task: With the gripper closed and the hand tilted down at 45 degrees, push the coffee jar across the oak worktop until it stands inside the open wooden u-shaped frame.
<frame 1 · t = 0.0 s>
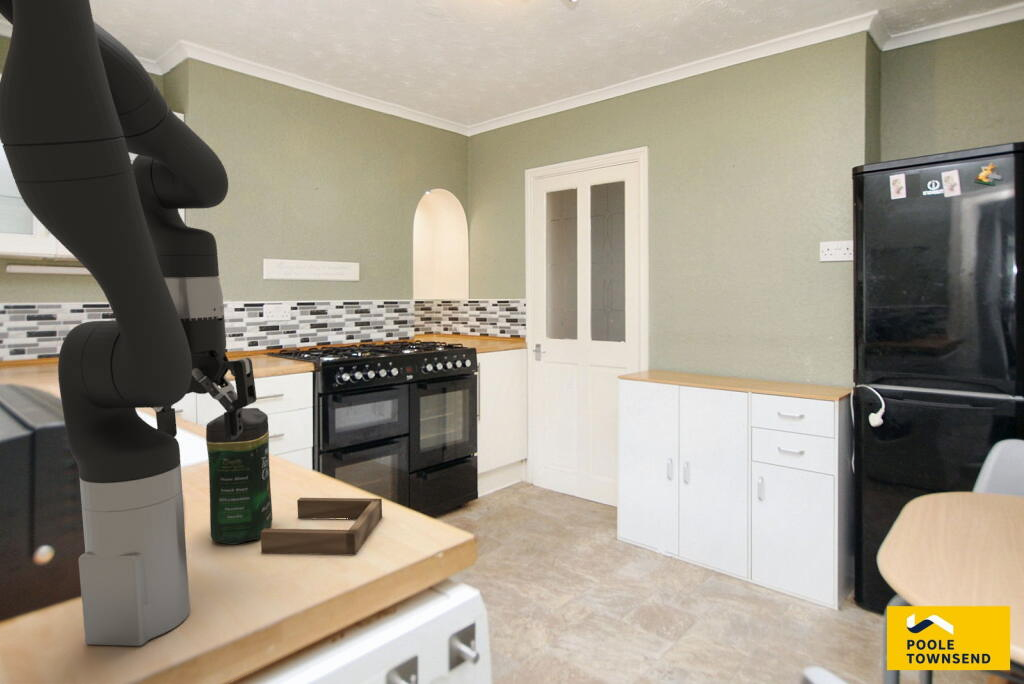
hand: (201, 438, 78), 17 cm above the worktop, tool pointing down, fingers open, 8 cm apart
coffee jar: (243, 533, 90), on the worktop
wooden u-shaped frame: (322, 533, 90), on the worktop
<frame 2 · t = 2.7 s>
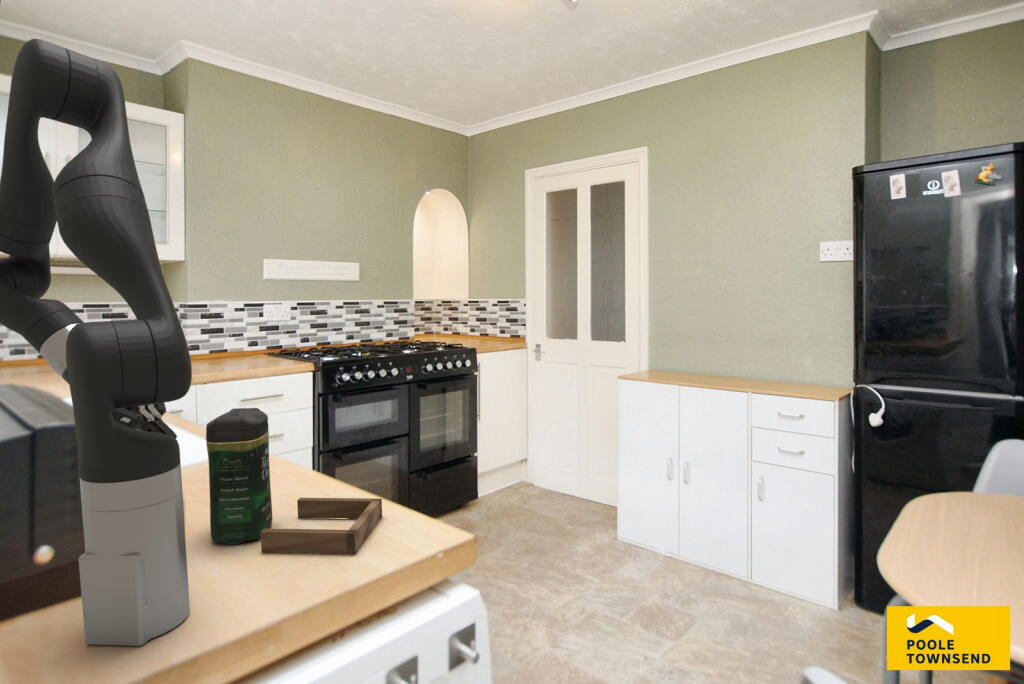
hand: (170, 442, 90), 14 cm above the worktop, tool tilted 45°, fingers closed
nothing on the worktop moved.
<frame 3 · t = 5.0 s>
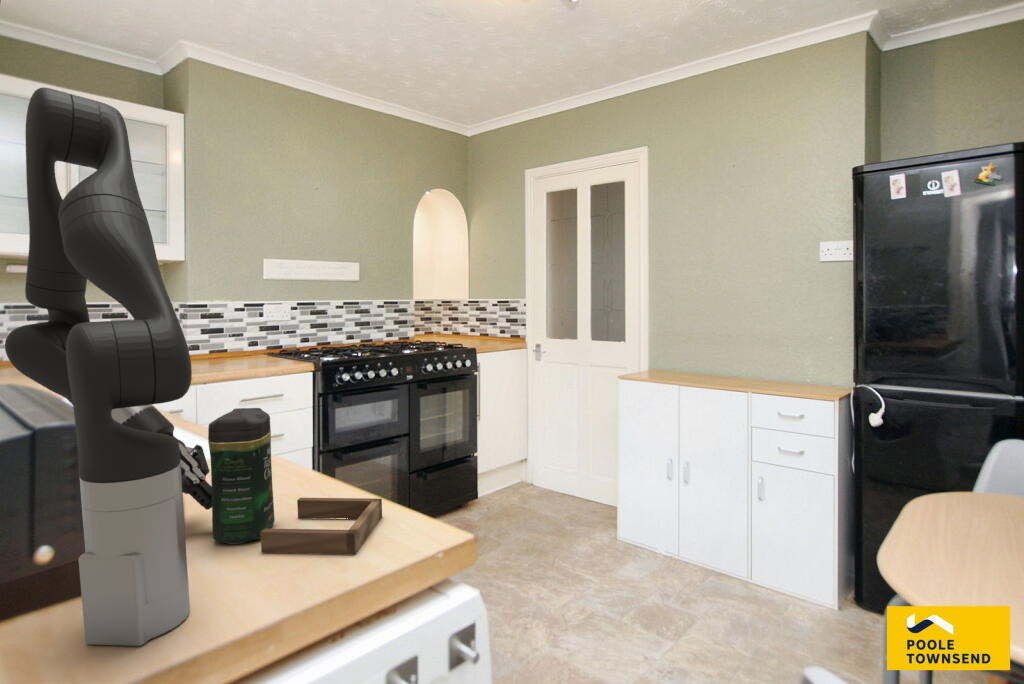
hand: (215, 503, 90), 4 cm above the worktop, tool tilted 45°, fingers closed
coffee jar: (245, 533, 90), on the worktop, touching gripper
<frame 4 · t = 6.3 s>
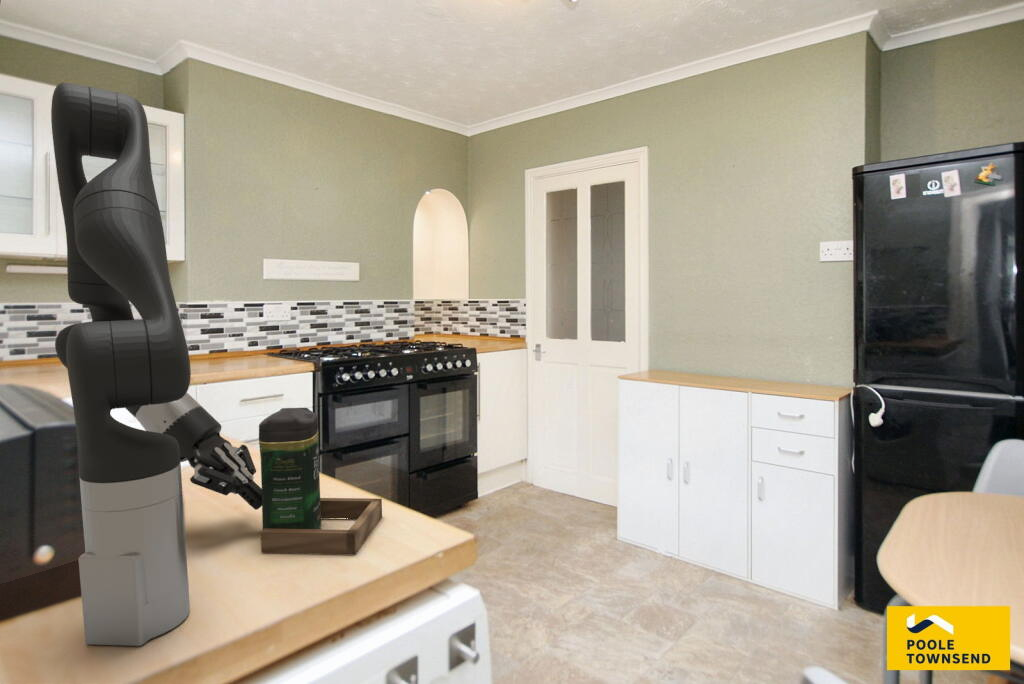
hand: (263, 503, 90), 4 cm above the worktop, tool tilted 45°, fingers closed
coffee jar: (294, 533, 90), on the worktop, touching gripper
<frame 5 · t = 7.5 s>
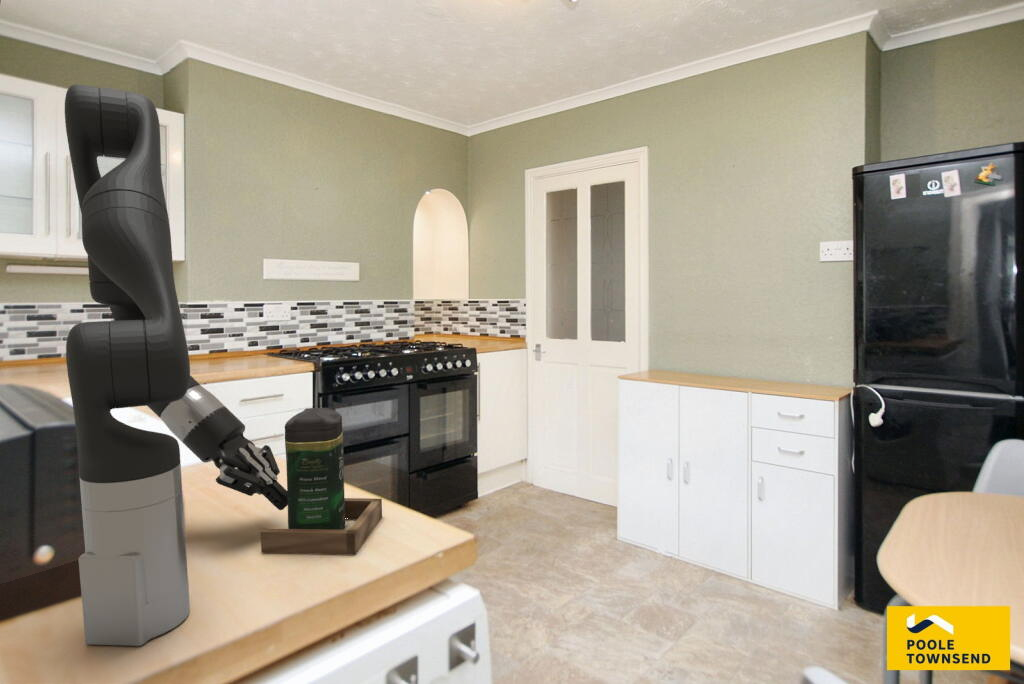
hand: (287, 504, 90), 4 cm above the worktop, tool tilted 45°, fingers closed
coffee jar: (318, 534, 90), on the worktop, touching gripper
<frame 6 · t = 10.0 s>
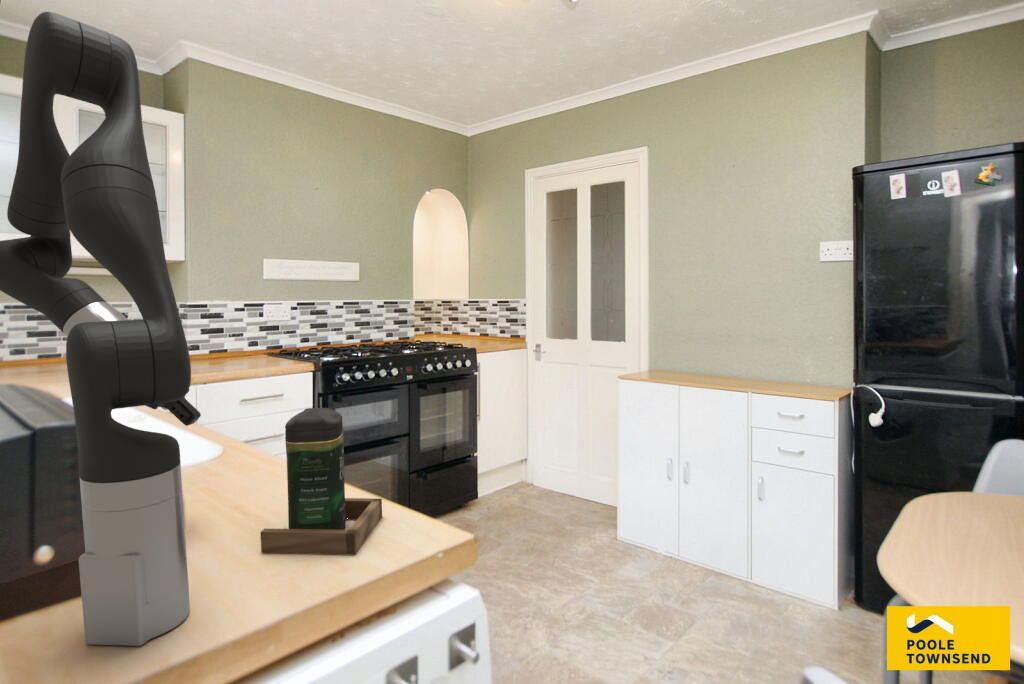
hand: (194, 420, 89), 17 cm above the worktop, tool tilted 45°, fingers closed
coffee jar: (319, 534, 90), on the worktop
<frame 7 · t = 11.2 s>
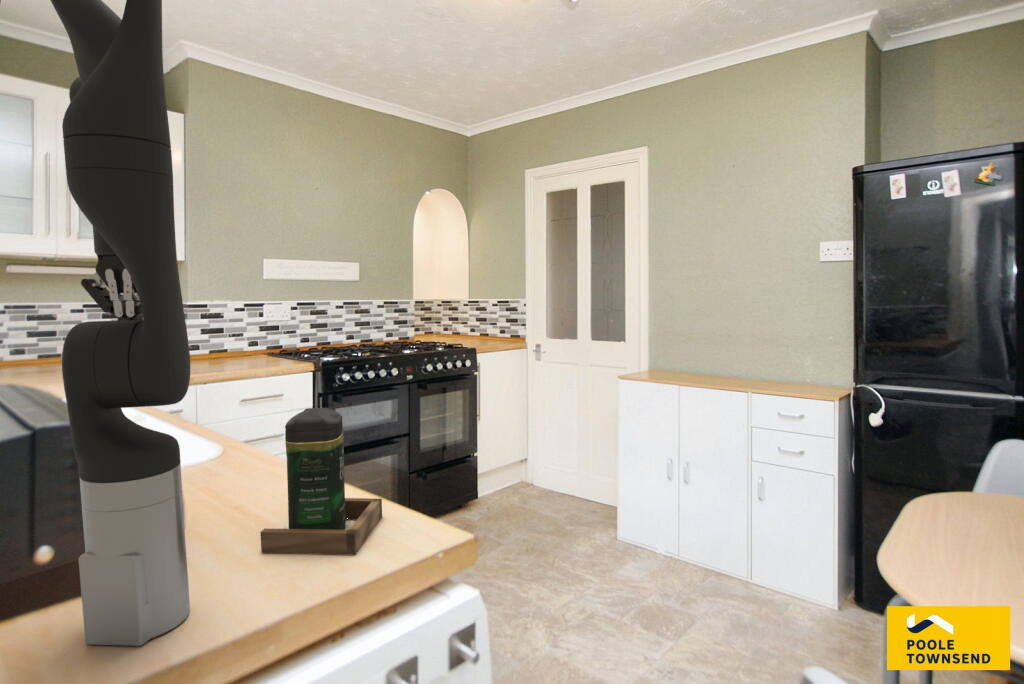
hand: (132, 342, 88), 29 cm above the worktop, tool pointing down, fingers closed
nothing on the worktop moved.
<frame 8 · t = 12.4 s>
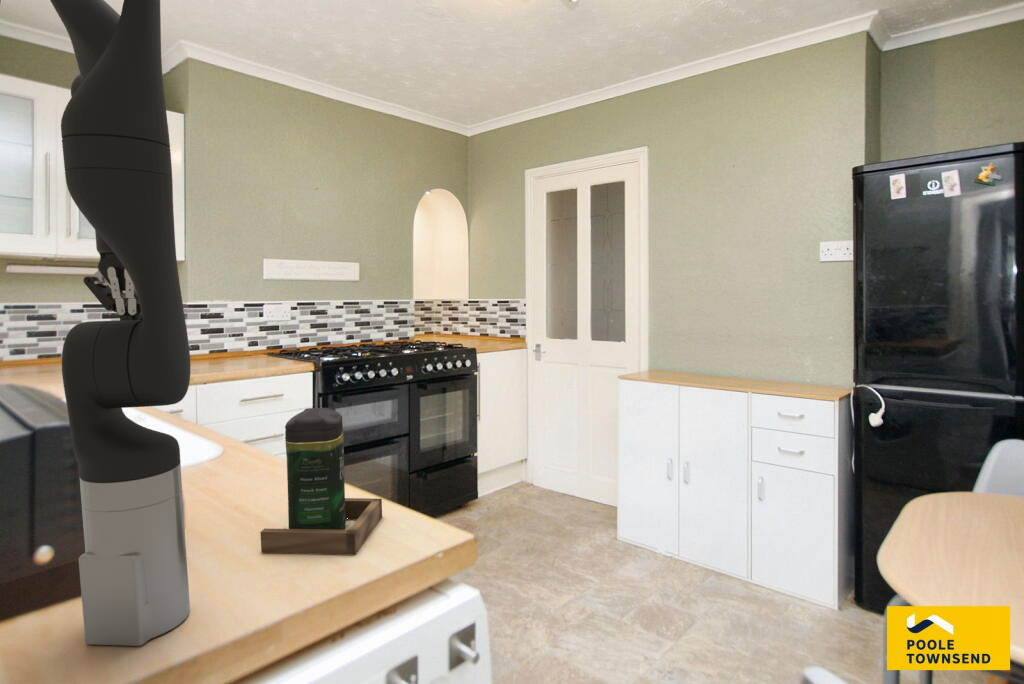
hand: (134, 340, 89), 29 cm above the worktop, tool pointing down, fingers closed
nothing on the worktop moved.
at the end: coffee jar 0.9 cm off-centre on the wooden u-shaped frame, point 0.0 cm above the wooden u-shaped frame's base; coffee jar tilted 0° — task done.
